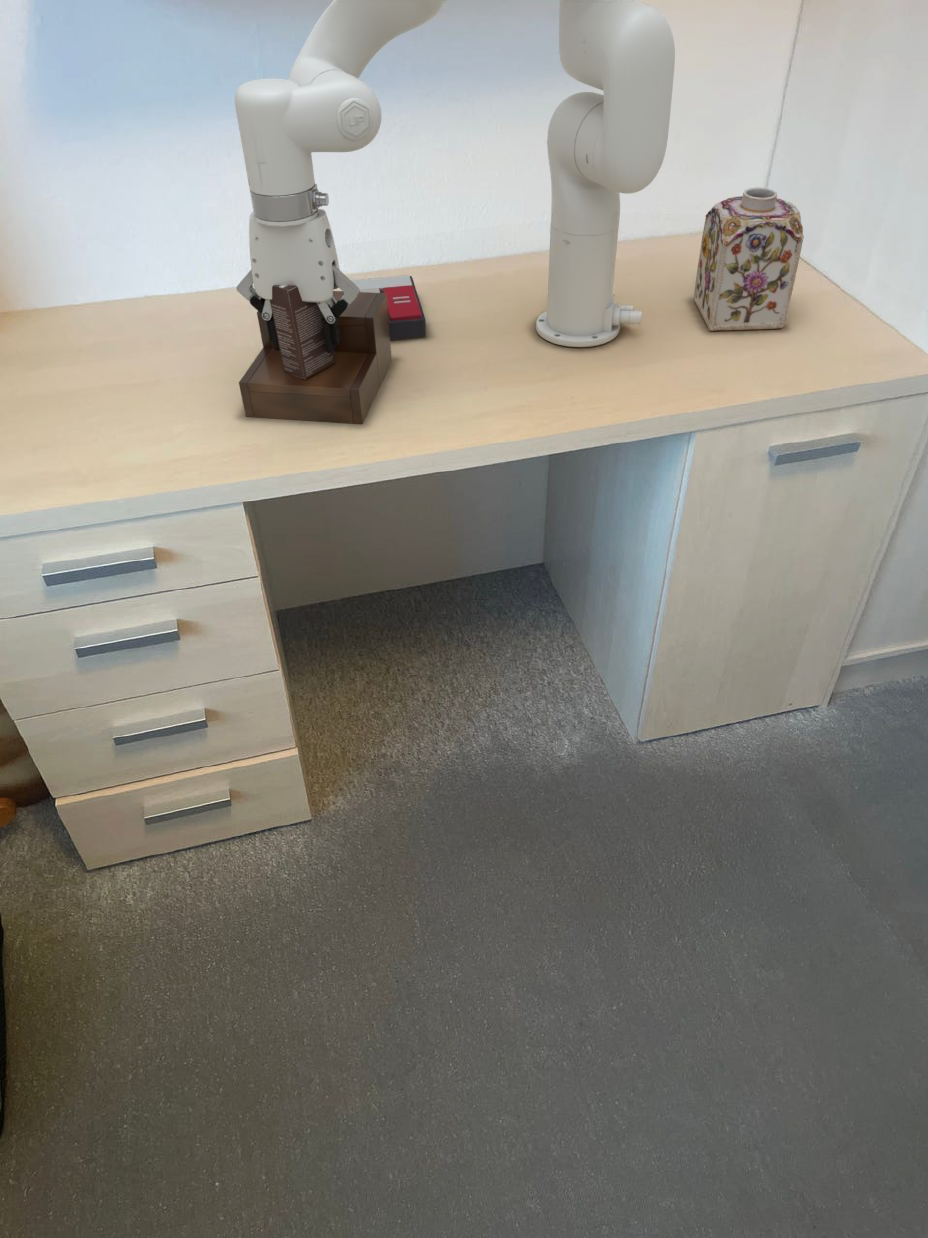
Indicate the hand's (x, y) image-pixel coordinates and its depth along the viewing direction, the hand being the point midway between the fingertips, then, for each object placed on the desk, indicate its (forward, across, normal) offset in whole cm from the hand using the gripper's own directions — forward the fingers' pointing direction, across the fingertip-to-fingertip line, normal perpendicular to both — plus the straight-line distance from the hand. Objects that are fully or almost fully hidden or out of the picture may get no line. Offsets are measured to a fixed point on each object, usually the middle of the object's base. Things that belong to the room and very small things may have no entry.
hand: (306, 345), depth 118 cm
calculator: (+8, -4, -26) cm, 28 cm away
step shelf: (+8, 0, -5) cm, 9 cm away
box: (+3, 0, 0) cm, 3 cm away
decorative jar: (+8, -58, -34) cm, 68 cm away
